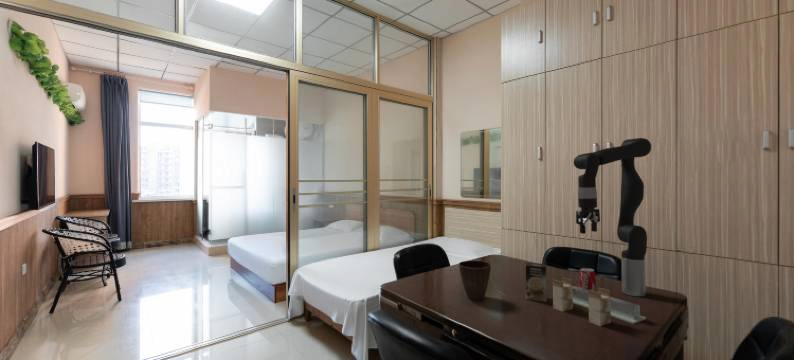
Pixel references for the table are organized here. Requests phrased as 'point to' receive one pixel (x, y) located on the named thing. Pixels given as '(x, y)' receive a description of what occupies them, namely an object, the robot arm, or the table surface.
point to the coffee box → (536, 282)
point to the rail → (616, 304)
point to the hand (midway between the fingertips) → (588, 232)
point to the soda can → (587, 279)
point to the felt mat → (614, 314)
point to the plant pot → (475, 278)
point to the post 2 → (599, 307)
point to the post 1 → (562, 294)
